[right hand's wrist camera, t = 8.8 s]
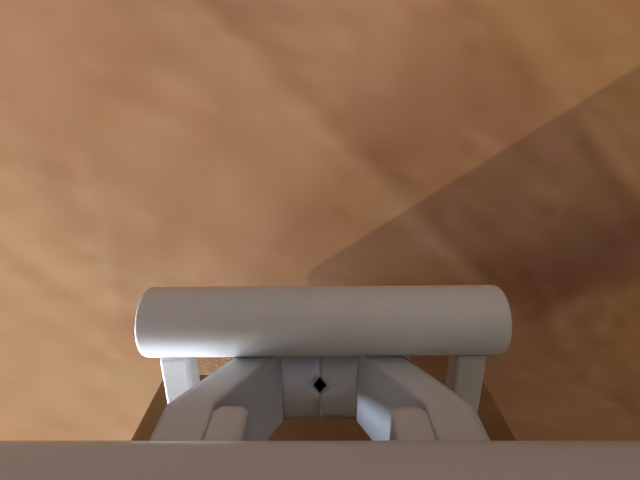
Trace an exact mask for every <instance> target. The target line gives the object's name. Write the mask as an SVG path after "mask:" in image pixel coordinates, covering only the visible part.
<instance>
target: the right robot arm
mask: <svg viewBox="0 0 640 480" xmlns="http://www.w3.org/2000/svg"><path fill="white" fill-rule="evenodd" d="M296 418H343V419H356V421H357V422H358V423H359V424H360V426H361V427H362V428H363V429H364V431H365V432H366V433H367V434H368V436H369V437H370V438H371V440H372V441H268V439H269V438H270V437H271V436H272V434H273V433H274V432H275V431H276V429H277V428H278V427H279V426H280V424H281V423H282V422H283V419H296ZM0 480H640V441H490V439H489V437H488V434H487V432H486V430H485V428H484V426H483V424H482V422H481V420H480V418H479V416H478V414H477V412H476V410H475V408H474V406H473V405H472V404H471V403H469V402H468V401H467V400H465V399H464V398H462V397H461V396H459V395H458V394H456V393H455V392H454V391H452V390H451V389H449V388H448V387H446V386H445V385H444V384H442V383H441V382H439V381H438V380H436V379H435V378H434V377H432V376H431V375H429V374H428V373H426V372H425V371H423V370H422V369H421V368H419V367H418V366H416V365H415V364H413V363H412V362H411V361H409V360H408V359H406V358H405V357H403V356H290V357H235V358H233V359H232V360H231V361H229V362H228V363H226V364H225V365H223V366H222V367H220V368H219V369H218V370H216V371H215V372H213V373H212V374H210V375H209V376H207V377H206V378H205V379H203V380H202V381H200V382H199V383H197V384H196V385H194V386H193V387H192V388H190V389H189V390H187V391H186V392H184V393H183V394H181V395H180V396H179V397H177V398H176V399H174V400H173V401H171V402H170V403H168V404H167V405H166V407H165V409H164V411H163V413H162V415H161V417H160V419H159V422H158V424H157V426H156V428H155V430H154V432H153V434H152V436H151V438H150V440H149V441H0Z"/></svg>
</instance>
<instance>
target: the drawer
mask: <svg viewBox="0 0 640 480" xmlns="http://www.w3.org/2000/svg"><path fill="white" fill-rule="evenodd" d="M511 337H512V316H511V310H510V306H509V303H508V300H507V298H506V296H505V294H504V292H503V291H502V290H501V289H500V288H499V287H497V286H495V285H400V286H245V287H151V288H149V289H147V290H146V291H145V292H144V293H143V295H142V297H141V299H140V301H139V304H138V307H137V311H136V317H135V339H136V344H137V347H138V350H139V352H140V353H141V354H142V355H143V356H145V357H148V358H150V357H161V359H160V363H161V369H162V375H163V381H162V383H161V384H160V386H159V388H158V390H157V392H156V394H155V396H154V398H153V400H152V402H151V403H150V405H149V407H148V409H147V411H146V413H145V415H144V417H143V419H142V421H141V422H140V424H139V426H138V428H137V430H136V432H135V434H134V436H133V438H132V440H131V441H149V440H150V438H151V436H152V434H153V432H154V430H155V428H156V426H157V424H158V422H159V419H160V417H161V415H162V413H163V411H164V409H165V407H166V405H167V404H168V403H170V402H171V401H173V400H174V399H176V398H177V397H179V396H180V395H181V394H183V393H184V392H186V391H187V390H189V389H190V388H192V387H193V386H194V385H196V384H197V383H199V382H200V381H202V380H203V379H205V378H206V377H207V376H209V375H199V368H198V361H197V357H290V356H431V355H449V361H448V369H447V373H442V374H429V375H431V376H432V377H434V378H435V379H436V380H438V381H439V382H441V383H442V384H444V385H445V386H446V387H448V388H449V389H451V390H452V391H454V392H455V393H456V394H458V395H459V396H461V397H462V398H464V399H465V400H467V401H468V402H469V403H471V404H472V405H473V406H474V408H475V410H476V412H477V414H478V416H479V418H480V420H481V422H482V424H483V426H484V428H485V430H486V432H487V434H488V437H489V439H490V441H516V440H515V438H514V436H513V434H512V433H511V431H510V429H509V427H508V425H507V424H506V422H505V420H504V418H503V417H502V415H501V413H500V411H499V409H498V408H497V406H496V404H495V402H494V400H493V399H492V397H491V395H490V393H489V391H488V390H487V388H486V386H485V384H484V383H483V377H484V371H485V365H486V355H501V354H503V353H505V352H506V351H507V349H508V347H509V345H510V342H511ZM268 441H372V440H371V438H370V437H369V436H368V434H367V433H366V432H365V431H364V429H363V428H362V427H361V426H360V424H359V423H358V422H357V421H356V419H343V418H296V419H283V422H282V423H281V424H280V426H279V427H278V428H277V429H276V431H275V432H274V433H273V434H272V436H271V437H270V438H269V439H268Z"/></svg>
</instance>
